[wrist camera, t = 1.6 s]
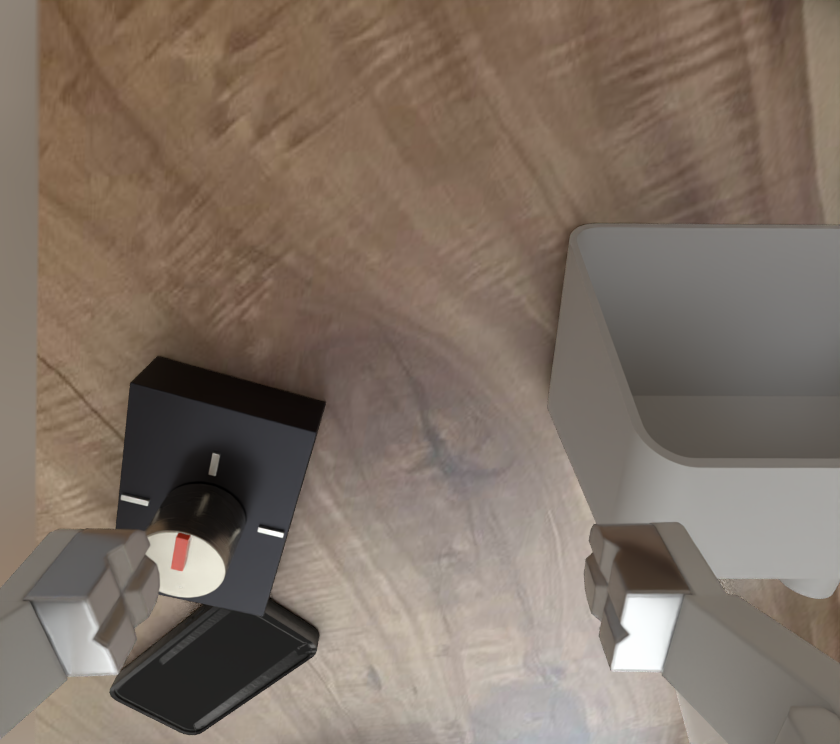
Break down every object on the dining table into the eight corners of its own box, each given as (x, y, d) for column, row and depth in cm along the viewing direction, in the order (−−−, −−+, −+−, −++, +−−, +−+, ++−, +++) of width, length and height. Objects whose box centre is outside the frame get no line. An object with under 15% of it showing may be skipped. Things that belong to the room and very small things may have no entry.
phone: (323, 649, 36) (192, 739, 41) (326, 634, 37) (197, 724, 42) (230, 590, 34) (101, 693, 38) (235, 576, 35) (109, 678, 39)
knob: (238, 553, 30) (216, 611, 27) (158, 535, 29) (124, 592, 26) (252, 494, 28) (230, 549, 25) (167, 474, 27) (132, 526, 24)
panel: (274, 577, 35) (262, 619, 32) (133, 546, 34) (108, 587, 31) (326, 402, 29) (316, 434, 26) (157, 355, 28) (127, 384, 25)
